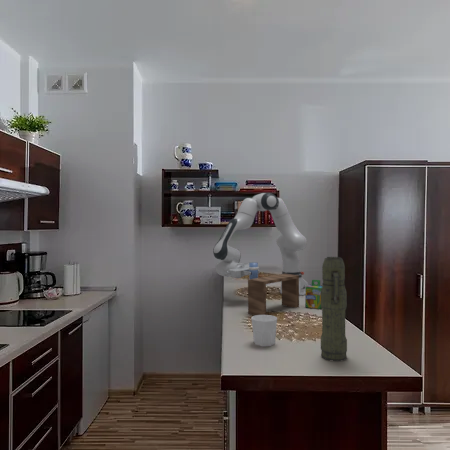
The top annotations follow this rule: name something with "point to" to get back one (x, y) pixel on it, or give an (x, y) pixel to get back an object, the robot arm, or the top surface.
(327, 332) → the thermos
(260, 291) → the riser
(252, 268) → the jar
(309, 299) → the chalk box
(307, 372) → the top surface
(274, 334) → the cup
